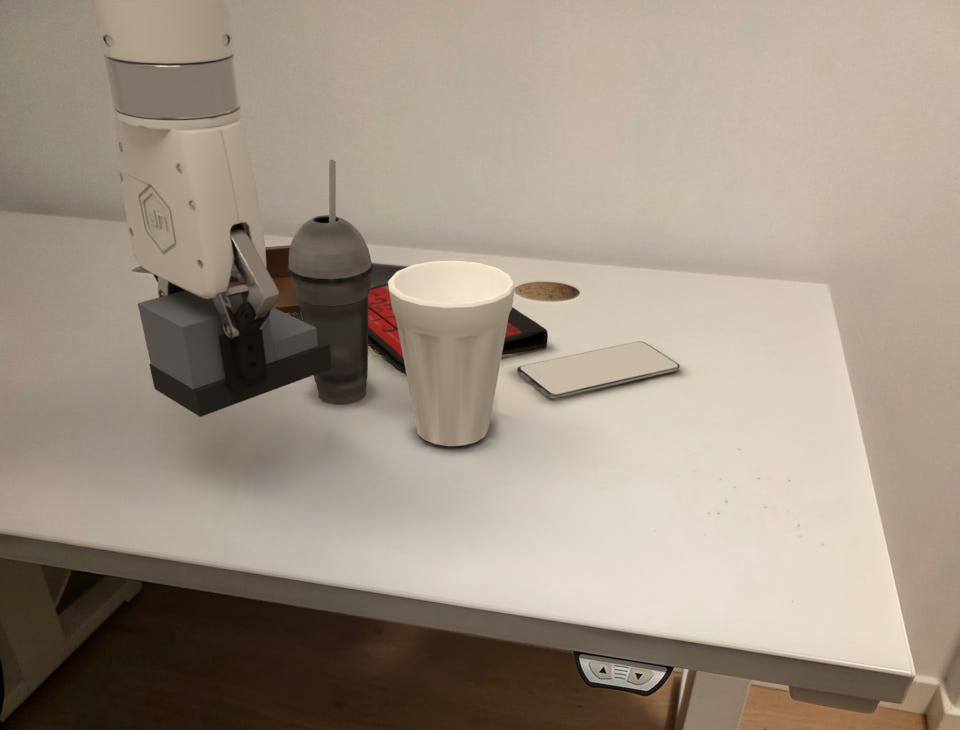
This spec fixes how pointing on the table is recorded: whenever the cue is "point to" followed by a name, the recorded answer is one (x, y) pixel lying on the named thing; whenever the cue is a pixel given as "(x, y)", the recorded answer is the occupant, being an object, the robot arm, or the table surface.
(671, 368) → the smartphone
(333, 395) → the beverage cup
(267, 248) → the bench
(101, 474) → the table surface
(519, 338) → the binder
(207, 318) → the stepped block on base
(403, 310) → the cup
